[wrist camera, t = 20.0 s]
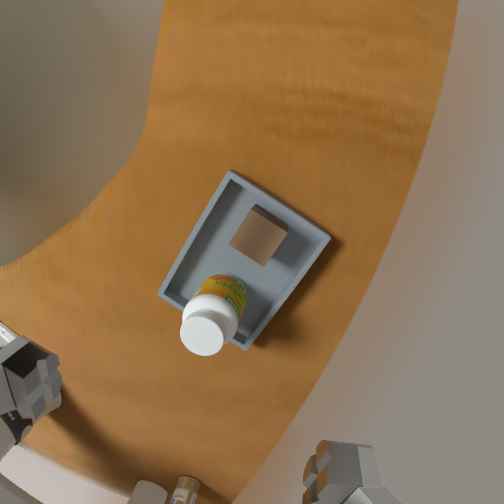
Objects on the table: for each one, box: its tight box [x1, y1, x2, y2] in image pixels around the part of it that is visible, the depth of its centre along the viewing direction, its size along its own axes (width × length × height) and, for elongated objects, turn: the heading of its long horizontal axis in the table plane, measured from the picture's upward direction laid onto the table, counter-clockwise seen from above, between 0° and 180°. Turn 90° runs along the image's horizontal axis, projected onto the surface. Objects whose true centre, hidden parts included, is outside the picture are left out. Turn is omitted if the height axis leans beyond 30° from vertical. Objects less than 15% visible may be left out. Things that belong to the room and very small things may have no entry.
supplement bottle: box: [180, 273, 247, 356], centre depth 31 cm, size 5×5×10 cm
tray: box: [157, 170, 331, 351], centre depth 34 cm, size 12×16×2 cm
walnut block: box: [229, 204, 288, 267], centre depth 31 cm, size 4×4×4 cm
